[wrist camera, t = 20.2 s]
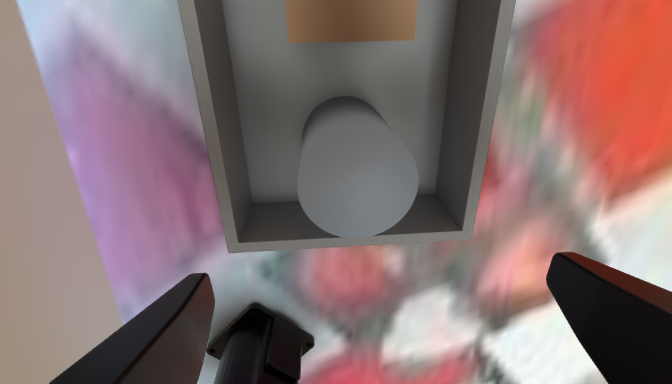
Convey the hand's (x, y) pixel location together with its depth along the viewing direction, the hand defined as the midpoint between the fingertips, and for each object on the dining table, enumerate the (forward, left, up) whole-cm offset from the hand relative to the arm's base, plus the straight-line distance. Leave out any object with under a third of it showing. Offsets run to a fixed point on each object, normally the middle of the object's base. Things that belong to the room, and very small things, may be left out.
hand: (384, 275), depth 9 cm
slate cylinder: (0, 0, -12) cm, 12 cm away
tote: (+3, +3, -13) cm, 14 cm away
